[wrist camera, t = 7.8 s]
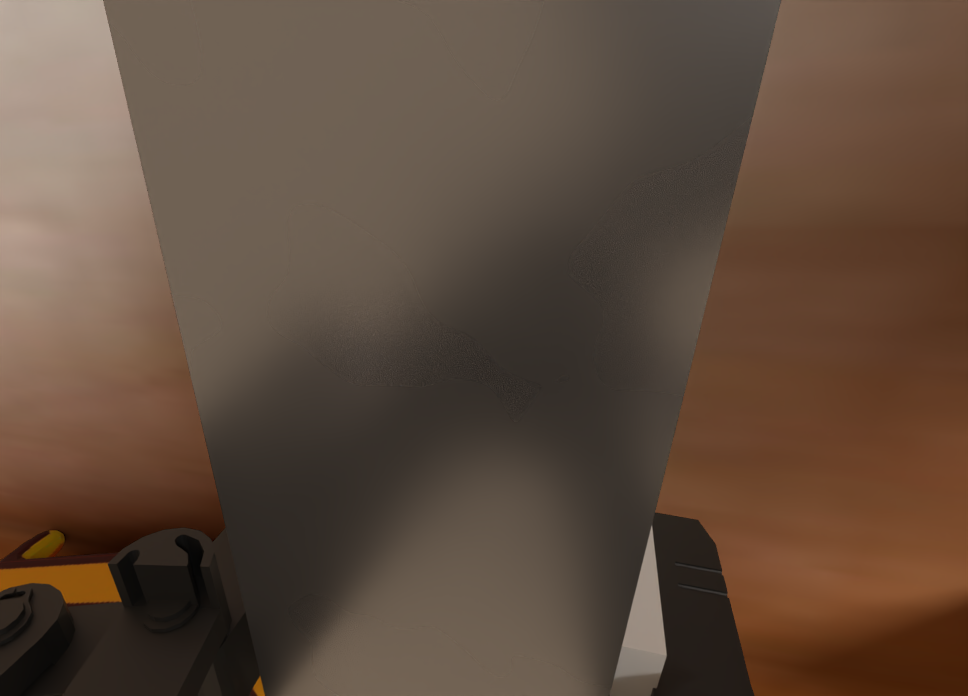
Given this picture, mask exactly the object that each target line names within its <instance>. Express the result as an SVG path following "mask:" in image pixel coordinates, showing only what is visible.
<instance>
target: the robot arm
mask: <svg viewBox="0 0 968 696" xmlns="http://www.w3.org/2000/svg"><path fill="white" fill-rule="evenodd" d="M108 567H109V569H110V572H111V575H112V577H113V580H114V582H115V585H116V588H117V590H118V593H119V596H120V598H121V601H122V602H115V603H104V604H93V605H82V606H71V607H67V604H66V602H65V600H64V598H63V595H62V593H61V591H60V590H58V589H56V588H55V587H53V586H52V585H50V584H40V583H29V584H25V585H20V586H15V587H11V588H8V589H5V590H3V591H1V592H0V696H251V695H250V692H251V691H252V689H253V687H254V685H255V684H256V682H257V680H258V679H259V677H260V673H259V668H258V664H257V660H256V655H255V651H254V647H253V642H252V638H251V634H250V630H249V625H248V621H247V617H246V612H245V608H244V604H243V599H242V595H241V591H240V587H239V582H238V578H237V574H236V569H235V565H234V561H233V556H232V552H231V548H230V544H229V539H228V535H227V531H226V528H225V529H224V530H223V531H222V532H221V533H220V535H219V536H218V537H217V538H216V539H215V540H214V541H213V543H212V541H211V539H210V538H209V537H208V536H207V535H205V534H204V533H203V532H201V531H199V530H194V529H189V528H175V529H166V530H162V531H159V532H156V533H153V534H150V535H147V536H144V537H142V538H140V539H139V540H137V541H135V542H134V543H132V544H130V545H129V546H127V547H125V548H123V549H122V550H121V551H120V552H119V553H118V554H117V555H116V556H115V557H114V558H113V559H112V560H111V561H110V562H109V563H108ZM610 696H754V693H753V690H752V687H751V684H750V680H749V676H748V672H747V668H746V664H745V660H744V656H743V652H742V648H741V644H740V640H739V636H738V632H737V628H736V624H735V620H734V616H733V612H732V608H731V604H730V600H729V598H727V588H726V584H725V580H724V576H723V575H722V568H721V564H720V560H719V556H718V552H717V548H716V544H715V543H714V541H713V540H712V539H711V537H710V536H709V535H708V533H707V532H706V531H705V529H704V528H703V526H702V525H701V524H700V522H699V521H698V520H695V519H689V518H683V517H677V516H672V515H666V514H660V513H655V514H654V518H653V522H652V526H651V530H650V534H649V538H648V542H647V546H646V550H645V554H644V559H643V563H642V567H641V571H640V575H639V579H638V583H637V587H636V591H635V595H634V599H633V603H632V607H631V611H630V615H629V619H628V623H627V627H626V632H625V636H624V640H623V644H622V648H621V652H620V656H619V660H618V664H617V668H616V672H615V676H614V680H613V684H612V688H611V692H610Z"/></svg>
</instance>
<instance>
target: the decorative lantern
mask: <svg viewBox="0 0 968 696" xmlns="http://www.w3.org/2000/svg"><path fill="white" fill-rule="evenodd" d="M64 542H65V538H64V535H63V533H61V532H59V531H57V530H48V531H46V532H43V533H41V534H38V535H37V536H35V537H33V538H32V539H30V540H28V541H27V542H25V543H23V544H22V545H21V546H19V547H18V548H17V549H15V550H14V551H13V552H12V553H10V554H9V555H8V556H6V557H5V558H4V559H2V560H1V561H0V592H1V591H3V590H5V589H8V588H11V587H15V586H20V585H25V584H29V583H40V584H50V585H52V586H53V587H55V588H56V589H58V590H60V591H61V593H62V595H63V598H64V600H65V602H66V604H67V607H71V606H82V605H93V604H104V603H115V602H122V601H121V598H120V596H119V593H118V590H117V588H116V585H115V582H114V580H113V577H112V575H111V572H110V569H109V567H108V563H109V562H110V561H111V560H112V559H113V558H114V557H115V556H116V555H117V554H118V553H119V552H117V553H103V554H89V555H74V556H60V557H54V556H55V555H56V554H57V553H58V552H59V551H60V550H61V549H62V547H63V545H64ZM212 543H213V542H212ZM250 695H251V696H265V694H264V690H263V685H262V681H261V677H259V679H258V680H257V682H256V684H255V685H254V687H253V689H252V691H251V692H250Z"/></svg>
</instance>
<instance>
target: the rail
mask: <svg viewBox="0 0 968 696" xmlns="http://www.w3.org/2000/svg"><path fill="white" fill-rule="evenodd" d="M103 1H104V6H105V10H106V14H107V19H108V23H109V27H110V32H111V36H112V40H113V45H114V49H115V53H116V57H117V62H118V66H119V70H120V75H121V79H122V83H123V88H124V92H125V96H126V100H127V105H128V109H129V113H130V118H131V122H132V126H133V131H134V135H135V139H136V143H137V148H138V152H139V156H140V161H141V165H142V169H143V174H144V178H145V182H146V186H147V191H148V195H149V199H150V204H151V208H152V212H153V217H154V221H155V225H156V229H157V234H158V238H159V242H160V247H161V251H162V255H163V260H164V264H165V268H166V273H167V277H168V281H169V285H170V290H171V294H172V298H173V303H174V307H175V311H176V316H177V320H178V324H179V328H180V333H181V337H182V341H183V346H184V350H185V354H186V359H187V363H188V367H189V371H190V376H191V380H192V384H193V389H194V393H195V397H196V402H197V406H198V410H199V414H200V419H201V423H202V427H203V432H204V436H205V440H206V445H207V449H208V453H209V457H210V462H211V466H212V470H213V475H214V479H215V483H216V488H217V492H218V496H219V501H220V505H221V509H222V513H223V518H224V522H225V526H226V531H227V535H228V539H229V544H230V548H231V552H232V556H233V561H234V565H235V569H236V574H237V578H238V582H239V587H240V591H241V595H242V599H243V604H244V608H245V612H246V617H247V621H248V625H249V630H250V634H251V638H252V642H253V647H254V651H255V655H256V660H257V664H258V668H259V673H260V677H261V681H262V685H263V690H264V694H265V696H610V692H611V688H612V684H613V680H614V676H615V672H616V668H617V664H618V660H619V656H620V652H621V648H622V644H623V640H624V636H625V632H626V627H627V623H628V619H629V615H630V611H631V607H632V603H633V599H634V595H635V591H636V587H637V583H638V579H639V575H640V571H641V567H642V563H643V559H644V554H645V550H646V546H647V542H648V538H649V534H650V530H651V526H652V522H653V518H654V514H655V510H656V506H657V502H658V498H659V494H660V490H661V486H662V482H663V477H664V473H665V469H666V465H667V461H668V457H669V453H670V449H671V445H672V441H673V437H674V433H675V429H676V425H677V421H678V417H679V413H680V409H681V405H682V400H683V396H684V392H685V388H686V384H687V380H688V376H689V372H690V368H691V364H692V360H693V356H694V352H695V348H696V344H697V340H698V336H699V332H700V328H701V323H702V319H703V315H704V311H705V307H706V303H707V299H708V295H709V291H710V287H711V283H712V279H713V275H714V271H715V267H716V263H717V259H718V255H719V250H720V246H721V242H722V238H723V234H724V230H725V226H726V222H727V218H728V214H729V210H730V206H731V202H732V198H733V194H734V190H735V186H736V182H737V178H738V173H739V169H740V165H741V161H742V157H743V153H744V149H745V145H746V141H747V137H748V133H749V129H750V125H751V121H752V117H753V113H754V109H755V105H756V101H757V96H758V92H759V88H760V84H761V80H762V76H763V72H764V68H765V64H766V60H767V56H768V52H769V48H770V44H771V40H772V36H773V32H774V28H775V23H776V19H777V15H778V11H779V7H780V3H781V0H103Z"/></svg>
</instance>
